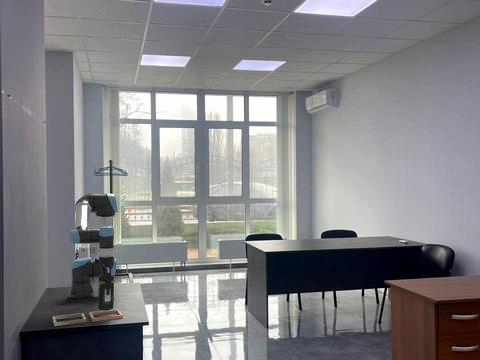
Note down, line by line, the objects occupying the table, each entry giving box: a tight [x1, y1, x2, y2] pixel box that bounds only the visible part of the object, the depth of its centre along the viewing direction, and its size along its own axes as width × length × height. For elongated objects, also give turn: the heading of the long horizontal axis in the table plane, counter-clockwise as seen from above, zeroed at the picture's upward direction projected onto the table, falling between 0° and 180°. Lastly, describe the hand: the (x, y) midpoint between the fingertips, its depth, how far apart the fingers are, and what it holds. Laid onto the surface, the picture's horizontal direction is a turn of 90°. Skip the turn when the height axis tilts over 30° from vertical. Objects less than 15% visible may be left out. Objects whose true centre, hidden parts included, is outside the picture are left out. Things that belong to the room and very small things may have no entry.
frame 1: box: [52, 312, 87, 327], centre depth 233 cm, size 13×15×2 cm
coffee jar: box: [97, 274, 115, 311], centre depth 241 cm, size 10×8×19 cm
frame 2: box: [88, 308, 124, 322], centre depth 241 cm, size 13×15×2 cm
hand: (106, 299), depth 241 cm, fingers closed on coffee jar, 9 cm apart
